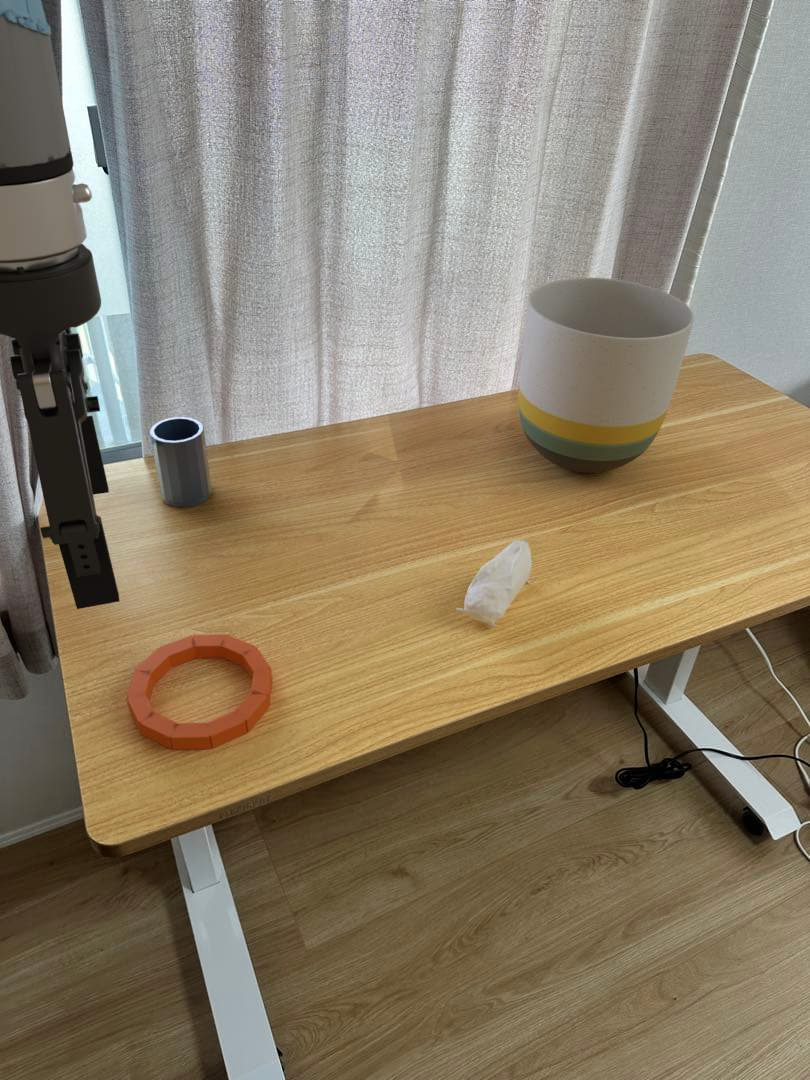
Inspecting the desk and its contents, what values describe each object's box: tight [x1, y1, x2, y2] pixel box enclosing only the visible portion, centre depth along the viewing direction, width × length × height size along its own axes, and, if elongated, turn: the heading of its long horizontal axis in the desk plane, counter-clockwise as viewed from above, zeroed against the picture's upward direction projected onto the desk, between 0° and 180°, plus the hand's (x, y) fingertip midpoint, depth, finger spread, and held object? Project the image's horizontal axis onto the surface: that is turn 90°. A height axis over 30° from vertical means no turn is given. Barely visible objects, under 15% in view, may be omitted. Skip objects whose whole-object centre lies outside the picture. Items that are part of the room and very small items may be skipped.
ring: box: [126, 633, 273, 751], centre depth 73 cm, size 12×12×2 cm
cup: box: [149, 416, 212, 509], centre depth 96 cm, size 6×6×9 cm
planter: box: [517, 277, 695, 474], centre depth 103 cm, size 20×20×21 cm
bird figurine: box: [455, 537, 533, 628], centre depth 84 cm, size 5×7×10 cm
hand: (94, 542), depth 59 cm, fingers open, 13 cm apart
